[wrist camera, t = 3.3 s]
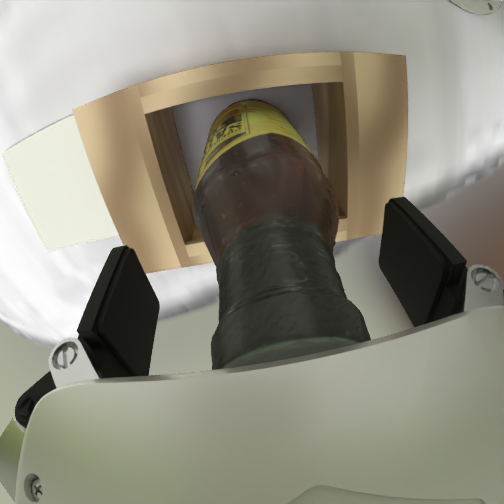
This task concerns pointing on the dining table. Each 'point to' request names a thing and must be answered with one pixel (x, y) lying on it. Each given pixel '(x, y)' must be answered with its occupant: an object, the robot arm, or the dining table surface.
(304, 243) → the sauce bottle
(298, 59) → the carton
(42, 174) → the mat
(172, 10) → the dining table surface
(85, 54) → the dining table surface
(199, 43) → the dining table surface
